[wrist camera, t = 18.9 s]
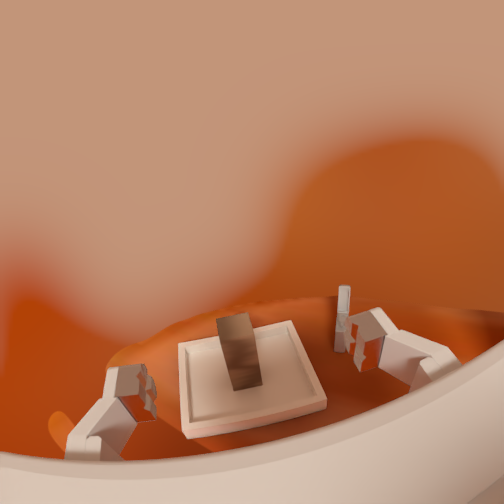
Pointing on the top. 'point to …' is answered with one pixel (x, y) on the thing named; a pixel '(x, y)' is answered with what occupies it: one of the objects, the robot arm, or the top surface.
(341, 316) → the lighter
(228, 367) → the walnut block
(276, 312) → the top surface
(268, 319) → the top surface
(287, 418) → the tray
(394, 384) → the top surface
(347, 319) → the robot arm
